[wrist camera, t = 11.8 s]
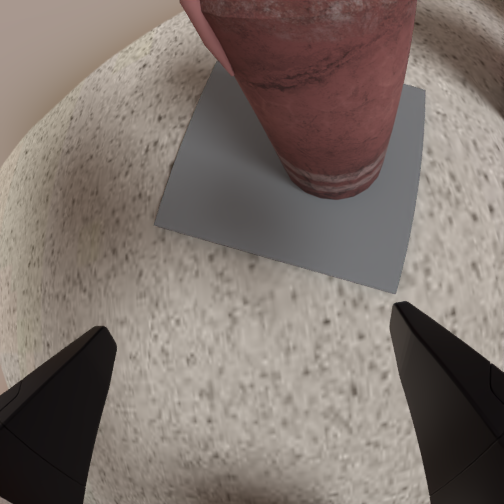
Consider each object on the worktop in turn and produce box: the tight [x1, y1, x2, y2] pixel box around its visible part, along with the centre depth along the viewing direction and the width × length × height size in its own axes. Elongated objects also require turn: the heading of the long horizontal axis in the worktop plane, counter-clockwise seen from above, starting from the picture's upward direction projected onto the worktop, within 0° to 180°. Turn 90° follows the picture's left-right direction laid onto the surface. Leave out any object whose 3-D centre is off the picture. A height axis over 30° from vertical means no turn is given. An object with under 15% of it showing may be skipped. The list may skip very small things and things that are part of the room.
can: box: [180, 0, 417, 200], centre depth 10 cm, size 6×6×14 cm
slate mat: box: [154, 61, 425, 294], centre depth 18 cm, size 16×14×1 cm
